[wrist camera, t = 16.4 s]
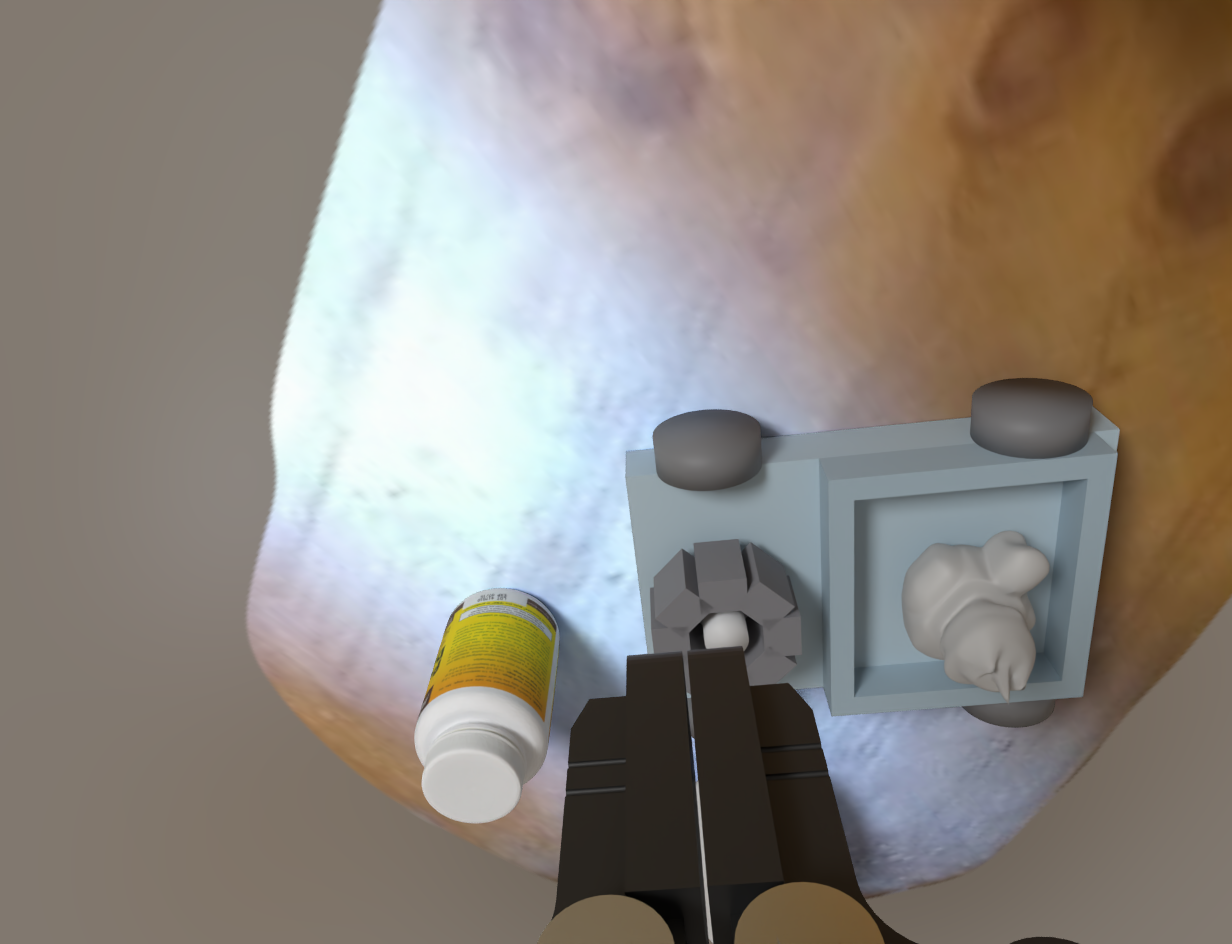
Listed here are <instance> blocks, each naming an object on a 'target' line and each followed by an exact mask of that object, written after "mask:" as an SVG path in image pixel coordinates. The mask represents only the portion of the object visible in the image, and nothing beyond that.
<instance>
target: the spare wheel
mask: <svg viewBox="0 0 1232 944" xmlns="http://www.w3.org/2000/svg"><path fill="white" fill-rule="evenodd" d="M693 544H694V555H695V557H694V556H692V555H691V554H689V553H688V552H687V551H685V550H684V549H681V550H680V551H679V552H678V553H677V554H676V555H675V556H674V557H673V558H672V559H671V560H670V561H669V562H668V563H667V564H666V565H665V566H664V567H663V568H662V569H661V570H660V571H659V572H658V573H657V574H656V576H655V577H654V578H653V579H654V587H652V588H650V610H651V633H652V641H653V649H654V653H665V652H677V651H682V654H683V662H684V672H685V681H686V691H687V693H689V694H690V695H691V691H690V679H689V668H688V656H687V650H698V649H707V648H706V646H705V641H704V633H703V625H702V624H701V623H700V622H701V621H702V620H703V619H704V618H705V617H706V616H707V615H708V614H709V613H718V612H729V611H742V612H743V613H744V614H746V615H747V617H746V618H745V620H746V626H747V631H748V636H749V643H748V646H747V648H746V649H745V651H744V656H745V662H746V667H747V673H748V679H749V685H750V686H753V685H767V684H776V683H777V682H779V681H780V680H781V679H782V678H783V677H784V676H785V675H786V674H787V673H789V672H790V671H791V670H792V669H793V668H794V667H795V666H796V665H797V662H796V658H795V655H802V642H801V616H800V612H799V609H798V605H797V602H796V598H795V595H794V591H793V587H792V584H791V580H790V577H789V575H787V576H786V572H785V568H784V566H783V565H782V564H780V563H779V562H778V561H776V560H775V559H774V558H772V557H771V556H769V555H768V554H767V553H765V552H764V551H763V550H761V549H760V548H758V547H757V546H756V545H754V544H753V543H751V542H750V543H749V544H748V545H747V546H746V547H745V548H744V549H743V550H742V551H741V549H740V544H739V539H731V540H720V541H709V542H698V543H693Z"/></svg>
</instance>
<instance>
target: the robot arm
mask: <svg viewBox="0 0 1232 944" xmlns="http://www.w3.org/2000/svg"><path fill="white" fill-rule="evenodd" d="M687 656H688V668H689V679H690V691H691V703H692V714H693V726H694V738H695V749H696V761H697V772H698V784H699V796H700V807H701V819H702V830H703V842H704V854H705V865H706V877H707V888H708V898H709V907H710V917H711V926H712V936H713V944H917V943H915V942H913V941H911V940H909V939H907V938H905V937H904V936H902V935H900V934H899V933H897V932H895V931H894V930H893V929H892V928H890V927H889V926H888V925H886V924H885V923H884V922H883V921H882V920H881V919H880V918H879V917H878V916H877V915H876V914H875V913H874V912H873V910H872V909H871V908H870V906H869V905H868V904H867V902H866V900H865V899H864V897H863V895H862V893H861V891H860V888H859V886H858V883H857V880H856V876H855V872H854V868H853V864H852V861H851V857H850V853H849V849H848V845H847V841H846V837H845V834H844V830H843V826H842V822H841V818H840V814H839V810H838V807H837V803H836V799H835V795H834V791H833V787H832V783H831V780H830V777H829V775H828V768H827V764H826V760H825V756H824V753H823V749H822V748H821V741H820V737H819V733H818V729H817V726H816V722H815V718H814V714H813V710H812V709H811V708H810V706H809V705H808V704H807V703H806V702H805V701H804V700H803V699H802V697H801V696H800V695H799V694H798V693H797V692H796V691H795V690H794V688H793V687H792V686H791V685H790V684H789V683H779V684H767V685H755V686H750V685H749V679H748V673H747V667H746V662H745V656H744V651H743V647H742V646H734V647H722V648H710V649H698V650H687ZM568 766H569V769H568V770H567V781H566V797H565V805H564V816H563V828H562V840H561V851H560V863H559V874H558V886H557V898H556V905H555V911H554V914H553V917H552V920H551V922H550V923H549V924H548V925H547V926H546V928H545V929H544V931H543V932H542V934H541V935H540V937H539V939H538V942H537V944H709V938H708V926H707V913H706V901H705V889H704V877H703V865H702V853H701V841H700V829H699V816H698V804H697V792H696V781H695V770H694V759H693V749H692V739H691V729H690V720H689V710H688V701H687V691H686V681H685V672H684V662H683V654H682V651H677V652H665V653H653V654H641V655H629V656H627V673H626V696H622V697H610V698H597V699H589V701H588V703H587V704H586V706H585V707H584V709H583V711H582V712H581V714H580V715H579V717H578V719H577V720H576V722H575V723H574V725H573V727H572V728H571V735H570V746H569V758H568ZM1010 944H1078V943H1075V942H1072V941H1069V940H1065V939H1059V938H1054V937H1032V938H1025V939H1021V940H1018V941H1015V942H1012V943H1010Z"/></svg>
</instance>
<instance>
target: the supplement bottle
mask: <svg viewBox="0 0 1232 944" xmlns="http://www.w3.org/2000/svg"><path fill="white" fill-rule="evenodd" d="M559 646H560V635H559V629H558V626H557V623H556V621H555V619H554V617H553V615H552V614H551V612H550V611H549V610H548V609H547V608H546V606H545V605H543V604H542V603H541V602H540V601H539V600H537V599H536V598H534V597H533V596H531V595H529V594H526V593H524V592H521V591H518V590H514V589H507V588H493V589H487V590H483V591H480V592H477V593H475V594H472V595H471V596H469V597H467V598H466V599H464V600H463V601H462V602H461V603H460V604H459V605H458V606H457V607H456V608H455V609H454V611H453V612H452V614H451V616H450V618H449V620H448V623H447V626H446V629H445V632H444V635H443V639H442V642H441V645H440V648H439V652H438V655H437V658H436V661H435V665H434V668H433V672H432V675H431V678H430V681H429V685H428V688H427V692H426V695H425V698H424V701H423V704H422V708H421V711H420V714H419V717H418V721H417V725H416V729H415V748H416V752H417V755H418V757H419V759H420V761H421V763H422V765H423V766H424V767H425V768H424V772H423V775H422V789H423V793H424V795H425V797H426V799H427V801H428V802H429V803H430V805H431V806H432V807H433V808H434V809H436V810H437V811H438V812H439V813H441V814H443V815H445V816H446V817H448V818H451V819H453V820H456V821H460V822H466V823H485V822H490V821H494V820H497V819H499V818H501V817H503V816H505V815H507V814H508V813H509V812H511V811H512V810H513V809H514V807H515V806H516V805H517V803H518V801H519V799H520V797H521V793H522V787H523V785H524V784H525V783H527V782H528V781H529V780H530V779H532V778H533V777H534V776H535V775H536V773H537V772H538V771H539V769H540V768H541V766H542V764H543V762H544V760H545V758H546V754H547V749H548V743H549V734H550V726H551V718H552V710H553V701H554V692H555V683H556V674H557V664H558V655H559Z"/></svg>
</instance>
